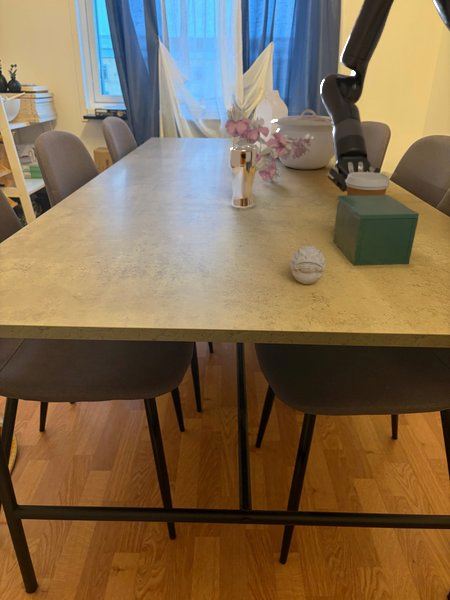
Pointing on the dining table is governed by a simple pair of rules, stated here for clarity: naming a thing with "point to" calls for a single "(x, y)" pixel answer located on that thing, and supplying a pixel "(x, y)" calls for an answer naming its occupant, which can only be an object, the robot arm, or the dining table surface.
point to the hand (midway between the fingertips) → (358, 205)
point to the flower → (251, 133)
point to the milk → (270, 114)
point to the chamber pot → (307, 140)
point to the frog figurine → (307, 265)
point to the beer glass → (242, 175)
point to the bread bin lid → (377, 207)
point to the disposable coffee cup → (366, 183)
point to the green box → (374, 238)
